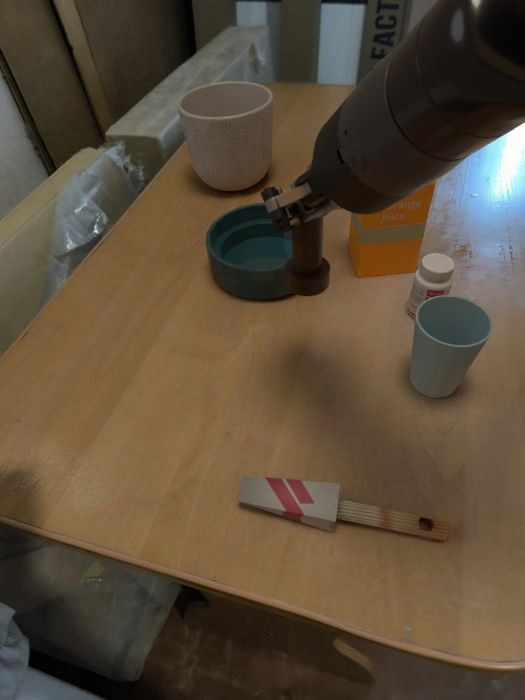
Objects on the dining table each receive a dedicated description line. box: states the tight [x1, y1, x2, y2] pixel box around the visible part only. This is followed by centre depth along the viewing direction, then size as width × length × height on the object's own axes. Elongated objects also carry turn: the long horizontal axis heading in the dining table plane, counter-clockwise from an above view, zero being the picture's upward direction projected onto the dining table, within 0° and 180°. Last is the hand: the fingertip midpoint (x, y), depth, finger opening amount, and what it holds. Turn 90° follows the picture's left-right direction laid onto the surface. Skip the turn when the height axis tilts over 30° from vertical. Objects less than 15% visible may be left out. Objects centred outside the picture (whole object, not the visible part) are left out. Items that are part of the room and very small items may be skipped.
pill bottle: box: [406, 252, 456, 320], centre depth 60 cm, size 5×5×8 cm
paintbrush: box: [236, 474, 449, 542], centre depth 44 cm, size 4×3×20 cm
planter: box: [176, 80, 274, 192], centre depth 85 cm, size 17×17×15 cm
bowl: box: [204, 202, 293, 300], centre depth 70 cm, size 17×17×6 cm
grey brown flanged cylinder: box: [285, 215, 331, 297], centre depth 45 cm, size 5×5×11 cm
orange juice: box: [347, 180, 437, 278], centre depth 64 cm, size 8×9×20 cm
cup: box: [409, 294, 494, 399], centre depth 51 cm, size 8×8×10 cm
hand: (296, 216), depth 45 cm, fingers closed on grey brown flanged cylinder, 3 cm apart
